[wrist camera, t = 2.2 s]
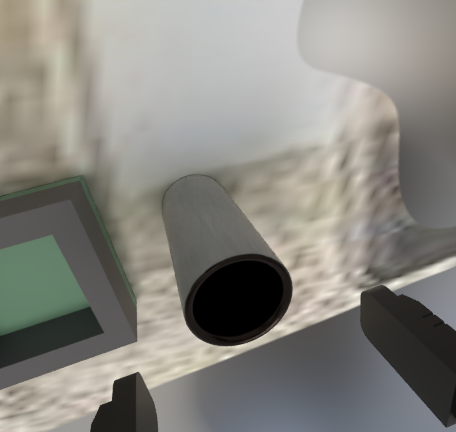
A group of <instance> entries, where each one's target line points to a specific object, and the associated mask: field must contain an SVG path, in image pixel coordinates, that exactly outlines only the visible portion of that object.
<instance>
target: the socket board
mask: <svg viewBox="0 0 456 432" xmlns="http://www.w3.org/2000/svg"><path fill="white" fill-rule="evenodd" d="M134 342H137V302H136V298H135V296H134V294H133V291H132V289H131V287H130V284H129V282H128V280H127V277H126V275H125V273H124V271H123V268H122V266H121V264H120V261H119V259H118V257H117V254H116V252H115V250H114V247H113V245H112V243H111V241H110V238H109V236H108V234H107V231H106V229H105V227H104V224H103V222H102V220H101V217H100V215H99V213H98V211H97V208H96V206H95V204H94V201H93V199H92V197H91V194H90V192H89V190H88V187H87V185H86V183H85V181H84V178H83V176H82V175H81V176H77V177H73V178H69V179H65V180H62V181H58V182H54V183H50V184H46V185H43V186H39V187H35V188H31V189H27V190H23V191H20V192H16V193H12V194H8V195H4V196H0V390H1V389H4V388H7V387H10V386H12V385H15V384H18V383H21V382H24V381H26V380H29V379H32V378H35V377H38V376H41V375H43V374H46V373H49V372H52V371H55V370H58V369H60V368H63V367H66V366H69V365H72V364H75V363H77V362H80V361H83V360H86V359H89V358H92V357H94V356H97V355H100V354H103V353H106V352H108V351H111V350H114V349H117V348H120V347H123V346H125V345H128V344H131V343H134Z"/></svg>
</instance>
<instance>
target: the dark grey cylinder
mask: <svg viewBox="0 0 456 432" xmlns="http://www.w3.org/2000/svg"><path fill="white" fill-rule="evenodd" d="M162 215H163V220H164V225H165V229H166V234H167V239H168V243H169V248H170V253H171V258H172V262H173V267H174V272H175V276H176V281H177V286H178V291H179V295H180V300H181V305H182V309H183V314H184V318H185V321H186V324H187V326H188V328H189V329H190V331H191V332H192V333H193V334H194V335H195V336H196V337H197V338H199V339H200V340H202V341H204V342H206V343H209V344H212V345H217V346H236V345H241V344H245V343H248V342H250V341H253V340H255V339H257V338H259V337H261V336H263V335H264V334H266V333H267V332H268V331H270V330H271V329H272V328H273V327H274V326H275V325H276V324H277V323H278V322H279V321H280V320H281V319H282V317H283V316H284V314H285V313H286V311H287V309H288V307H289V305H290V302H291V298H292V291H293V287H292V280H291V277H290V274H289V272H288V270H287V269H286V267H285V266H284V265H283V264H282V262H281V261H280V260H279V258H278V257H277V256H276V255H275V253H274V252H273V251H272V249H271V248H270V247H269V246H268V244H267V243H266V242H265V241H264V239H263V238H262V237H261V235H260V234H259V233H258V232H257V230H256V229H255V228H254V227H253V225H252V224H251V223H250V221H249V220H248V219H247V218H246V216H245V215H244V214H243V212H242V211H241V210H240V209H239V207H238V206H237V205H236V204H235V202H234V201H233V200H232V198H231V197H230V196H229V195H228V193H227V192H226V191H225V190H224V188H223V187H222V186H221V185H220V184H219V183H218V182H217V181H215V180H214V179H212V178H210V177H207V176H203V175H190V176H186V177H184V178H181V179H179V180H178V181H176V182H175V183H174V184H172V185H171V186H170V188H169V189H168V190H167V192H166V194H165V196H164V198H163V202H162Z"/></svg>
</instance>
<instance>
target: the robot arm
mask: <svg viewBox="0 0 456 432" xmlns="http://www.w3.org/2000/svg"><path fill="white" fill-rule="evenodd" d="M360 322H361V327H362V330H363V332H364V334H365V336H366V337H367V338H368V340H369V341H370V342H371V343H372V344H373V346H374V347H375V348H376V349H377V350H378V351H379V352H380V353H381V355H382V356H383V357H384V358H385V359H386V360H387V361H388V362H389V364H390V365H391V366H392V367H393V368H394V369H395V370H396V371H397V373H398V374H399V375H400V376H401V377H402V378H403V379H404V381H405V382H406V383H407V384H408V385H409V386H410V387H411V388H412V390H413V391H414V392H415V393H416V394H417V395H418V396H419V397H420V399H421V400H422V401H423V402H424V403H425V404H426V405H427V406H428V408H429V409H430V410H431V411H432V412H433V413H434V415H435V416H436V417H437V418H438V419H439V420H440V421H441V422H442V423H443V425H444V426H445V427H449V426H451V425H453V424H455V423H456V331H455V330H454V329H453V328H451V327H450V326H449V325H448V324H445V323H444V321H443V320H441V319H440V318H439V317H438V316H436V315H433V313H432V312H431V311H430V310H429V309H427V308H426V307H425V306H424V305H422V304H421V303H420V302H419V301H416V300H414V299H412V298H410V297H407V296H405V295H403V294H402V295H399V296H397V295H395V294H394V293H393V292H392V291H391V290H390V289H388V288H387V287H386V286H383V285H380V286H377V287H374V288H372V289H369V290H366V291H363V292H362V293H361V318H360ZM90 432H158V422H157V414H156V409H155V405H154V402H153V399H152V397H151V395H150V393H149V391H148V389H147V387H146V385H145V383H144V381H143V378H142V376H141V374H140V373H139V372H137V373H134V374H131V375H128V376H126V377H123V378H120V379H117V380H115V381H114V384H113V393H112V401H111V402H108V403H105V404H102V405H100V407H99V409H98V411H97V414H96V416H95V418H94V420H93V422H92V424H91V430H90Z"/></svg>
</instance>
